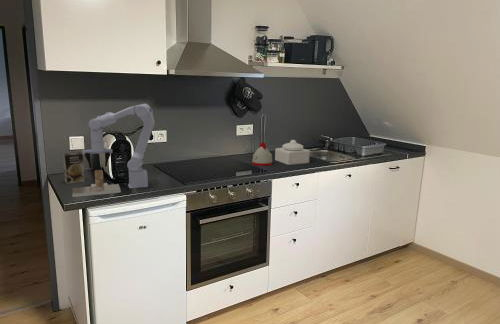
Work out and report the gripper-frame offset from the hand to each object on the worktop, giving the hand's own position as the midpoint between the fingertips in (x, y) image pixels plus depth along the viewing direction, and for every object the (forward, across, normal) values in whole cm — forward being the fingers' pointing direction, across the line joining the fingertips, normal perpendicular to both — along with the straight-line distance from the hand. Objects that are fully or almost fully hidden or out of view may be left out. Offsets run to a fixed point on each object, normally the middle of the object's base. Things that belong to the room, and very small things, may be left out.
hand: (98, 167), depth 203 cm
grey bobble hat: (+9, -106, -19) cm, 109 cm away
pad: (+10, 0, 0) cm, 11 cm away
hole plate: (+10, +2, +12) cm, 16 cm away
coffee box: (+11, +12, -13) cm, 21 cm away
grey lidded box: (+9, -130, -18) cm, 131 cm away
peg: (+10, 0, 0) cm, 10 cm away
